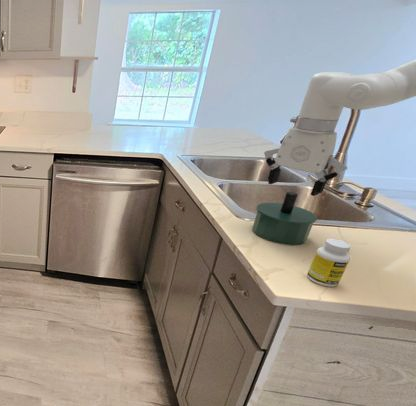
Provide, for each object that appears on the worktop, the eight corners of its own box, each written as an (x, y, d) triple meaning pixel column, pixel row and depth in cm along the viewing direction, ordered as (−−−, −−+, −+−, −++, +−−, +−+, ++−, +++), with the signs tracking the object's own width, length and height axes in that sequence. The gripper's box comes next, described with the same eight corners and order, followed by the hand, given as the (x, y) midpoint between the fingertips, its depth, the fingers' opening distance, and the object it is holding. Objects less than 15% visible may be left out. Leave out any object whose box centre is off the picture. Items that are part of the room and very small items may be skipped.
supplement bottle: (325, 289, 80) (342, 250, 76) (300, 275, 85) (314, 238, 81) (344, 285, 81) (362, 247, 77) (318, 271, 86) (333, 235, 82)
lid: (325, 218, 98) (334, 196, 95) (301, 230, 92) (309, 207, 90) (270, 202, 108) (277, 181, 106) (245, 212, 103) (252, 190, 100)
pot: (314, 237, 100) (322, 216, 98) (292, 249, 95) (300, 227, 93) (265, 221, 110) (272, 201, 107) (243, 231, 105) (249, 210, 102)
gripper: (268, 120, 96) (249, 181, 103) (354, 133, 82) (326, 202, 89) (283, 117, 99) (264, 176, 106) (368, 129, 85) (340, 196, 92)
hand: (292, 188), depth 97 cm, fingers open, 9 cm apart
